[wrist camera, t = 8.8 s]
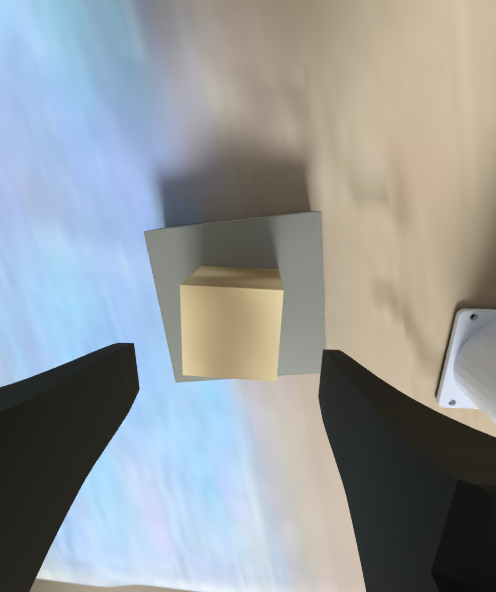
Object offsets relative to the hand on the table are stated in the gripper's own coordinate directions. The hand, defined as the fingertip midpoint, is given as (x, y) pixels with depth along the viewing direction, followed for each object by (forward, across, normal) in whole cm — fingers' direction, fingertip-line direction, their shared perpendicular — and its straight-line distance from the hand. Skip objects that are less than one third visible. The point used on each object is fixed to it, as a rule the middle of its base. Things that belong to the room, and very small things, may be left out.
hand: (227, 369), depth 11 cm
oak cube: (+7, 0, 0) cm, 7 cm away
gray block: (+11, 0, 0) cm, 11 cm away
